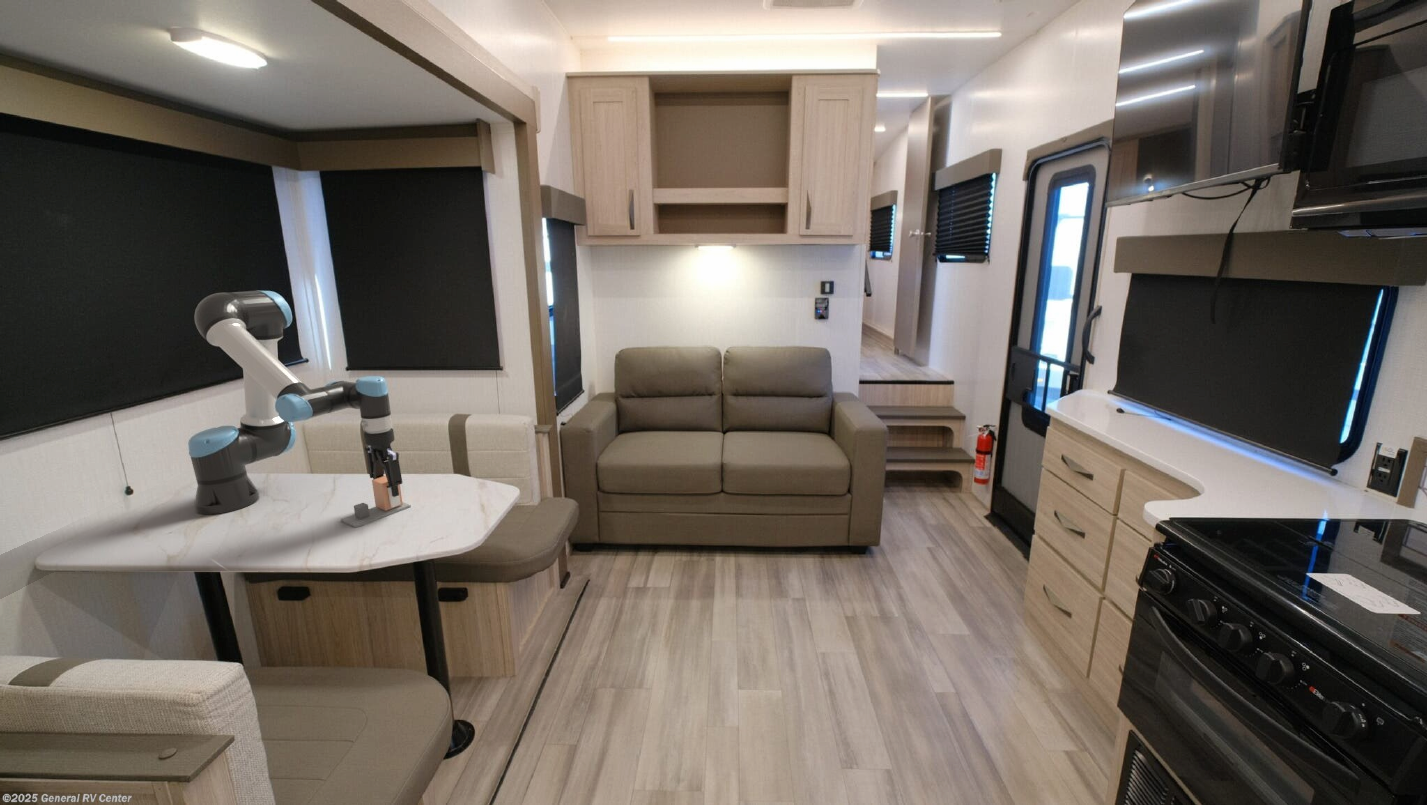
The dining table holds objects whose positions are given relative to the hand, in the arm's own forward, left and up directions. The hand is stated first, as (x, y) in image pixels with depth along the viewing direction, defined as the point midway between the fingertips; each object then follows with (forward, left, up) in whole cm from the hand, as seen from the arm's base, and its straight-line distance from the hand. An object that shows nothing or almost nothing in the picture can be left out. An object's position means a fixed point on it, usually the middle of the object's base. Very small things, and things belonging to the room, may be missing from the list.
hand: (389, 503), depth 171 cm
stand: (0, -4, -2) cm, 4 cm away
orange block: (0, 0, -1) cm, 1 cm away
